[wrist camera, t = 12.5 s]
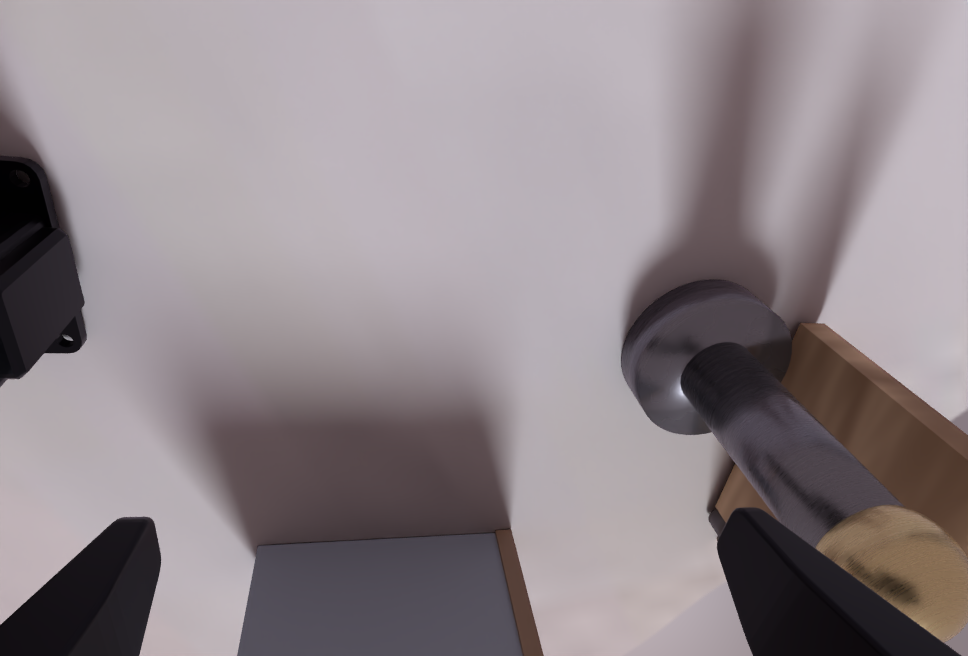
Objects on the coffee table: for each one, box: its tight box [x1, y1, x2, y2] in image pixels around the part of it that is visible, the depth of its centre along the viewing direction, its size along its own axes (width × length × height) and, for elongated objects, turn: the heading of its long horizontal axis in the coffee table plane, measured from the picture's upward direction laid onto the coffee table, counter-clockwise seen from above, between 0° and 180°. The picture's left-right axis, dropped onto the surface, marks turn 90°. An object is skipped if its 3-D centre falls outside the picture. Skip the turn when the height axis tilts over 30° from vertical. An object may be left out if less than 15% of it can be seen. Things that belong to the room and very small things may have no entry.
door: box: [709, 323, 968, 558], centre depth 24 cm, size 1×13×10 cm, turn 172°
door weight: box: [621, 280, 968, 643], centre depth 20 cm, size 6×6×13 cm
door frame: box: [237, 529, 719, 656], centre depth 26 cm, size 25×2×9 cm, turn 82°
